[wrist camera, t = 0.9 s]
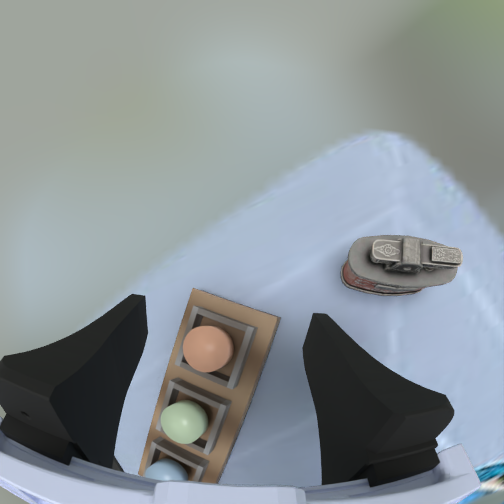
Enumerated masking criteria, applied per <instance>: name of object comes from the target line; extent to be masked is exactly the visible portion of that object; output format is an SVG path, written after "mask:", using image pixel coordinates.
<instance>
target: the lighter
mask: <svg viewBox="0 0 504 504" xmlns="http://www.w3.org/2000/svg"><path fill="white" fill-rule="evenodd" d="M462 261H463V255H462V251H461V250H460V249H459V248H455V247H448V246H445V245H443V244H440V243H437V242H434V241H431V240H427V239H422V238H417V237H412V236H401V235H380V236H370V237H362V238H359V239H358V240H356V241H355V242H354V243H353V245H352V246H351V248H350V250H349V254H348V260H347V261H346V262H345V263H344V265H343V266H342V269H341V280H342V283H343V284H344V285H345V286H346V287H348V288H350V289H353V290H357V291H360V292H364V293H368V294H375V295H381V296H401V295H409V294H415V293H418V292H420V291H421V290H423V289H424V288H426V287H431V286H438V285H443V284H446V283H449V282H451V281H452V280H453V279H454V278H455V275H456V273H457V268H458V267H459V266H461V264H462Z"/></svg>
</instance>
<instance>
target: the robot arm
mask: <svg viewBox="0 0 504 504" xmlns="http://www.w3.org/2000/svg"><path fill="white" fill-rule="evenodd" d="M147 335H148V327H147V315H146V300H145V296H143V295H136V294H131V295H130V296H128V297H127V298H126V299H124V300H123V301H122V302H120V303H119V304H118V305H116V306H115V307H114V308H112V309H111V310H110V311H108V312H107V313H105V314H104V315H103V316H101V317H100V318H98V319H97V320H95V321H94V322H92V323H91V324H89V325H88V326H86V327H84V328H83V329H81V330H79V331H77V332H76V333H74V334H72V335H70V336H68V337H66V338H63V339H61V340H59V341H56V342H54V343H52V344H49V345H47V346H44V347H41V348H38V349H34V350H31V351H27V352H23V353H18V354H13V355H7V356H4V357H3V358H2V360H1V361H0V405H1V406H2V408H3V409H4V411H5V412H6V416H5V418H4V419H3V418H2V417H0V486H2V487H3V488H5V489H6V490H8V491H10V492H11V493H13V494H14V495H16V496H18V497H19V498H21V499H23V500H25V501H26V502H28V503H30V504H457V503H458V502H460V501H461V500H463V499H464V498H466V497H467V496H469V495H470V494H472V493H473V492H474V491H476V490H477V489H479V488H480V487H481V483H480V481H479V479H478V476H477V474H476V472H475V470H474V468H473V465H472V463H471V461H470V459H469V457H468V455H467V453H466V451H465V449H464V447H463V445H462V444H458V445H455V446H453V447H450V448H447V449H445V450H442V451H441V452H439V453H438V454H437V453H436V451H435V449H434V448H436V447H437V446H438V443H437V441H436V439H435V438H436V437H437V436H438V435H439V434H440V433H441V432H442V431H443V430H444V429H445V428H446V427H447V425H448V424H449V423H450V422H451V420H452V418H453V416H454V409H453V407H452V405H451V404H450V402H449V400H448V398H447V397H446V395H444V394H441V393H438V392H435V391H432V390H430V389H427V388H424V387H422V386H420V385H418V384H415V383H413V382H411V381H409V380H407V379H405V378H404V377H402V376H400V375H398V374H397V373H395V372H393V371H392V370H390V369H389V368H387V367H386V366H384V365H383V364H381V363H380V362H379V361H377V360H376V359H375V358H373V357H372V356H371V355H370V354H368V353H367V352H366V351H365V350H364V349H362V348H361V347H360V346H359V345H358V344H357V343H356V342H355V341H354V340H353V339H352V338H351V337H350V336H348V335H347V334H346V333H345V332H344V331H343V330H342V329H341V328H340V327H339V326H338V325H337V324H336V323H335V322H334V321H333V320H332V319H331V318H330V317H329V316H328V315H327V314H321V313H313V315H312V319H311V322H310V325H309V329H308V332H307V335H306V339H305V342H304V345H303V358H304V366H305V371H306V375H307V378H308V382H309V386H310V390H311V393H312V397H313V401H314V405H315V409H316V414H317V420H318V428H319V438H320V449H321V467H322V485H321V486H311V487H299V488H297V487H294V486H285V485H229V484H214V483H203V482H194V481H182V480H168V481H162V480H156V479H151V478H146V477H142V476H137V475H133V474H129V473H125V472H121V471H117V470H113V469H112V467H113V458H114V450H115V444H116V437H117V432H118V427H119V422H120V417H121V413H122V408H123V404H124V400H125V397H126V394H127V391H128V388H129V386H130V383H131V381H132V378H133V376H134V373H135V371H136V368H137V366H138V363H139V361H140V358H141V356H142V353H143V350H144V347H145V343H146V339H147Z"/></svg>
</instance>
